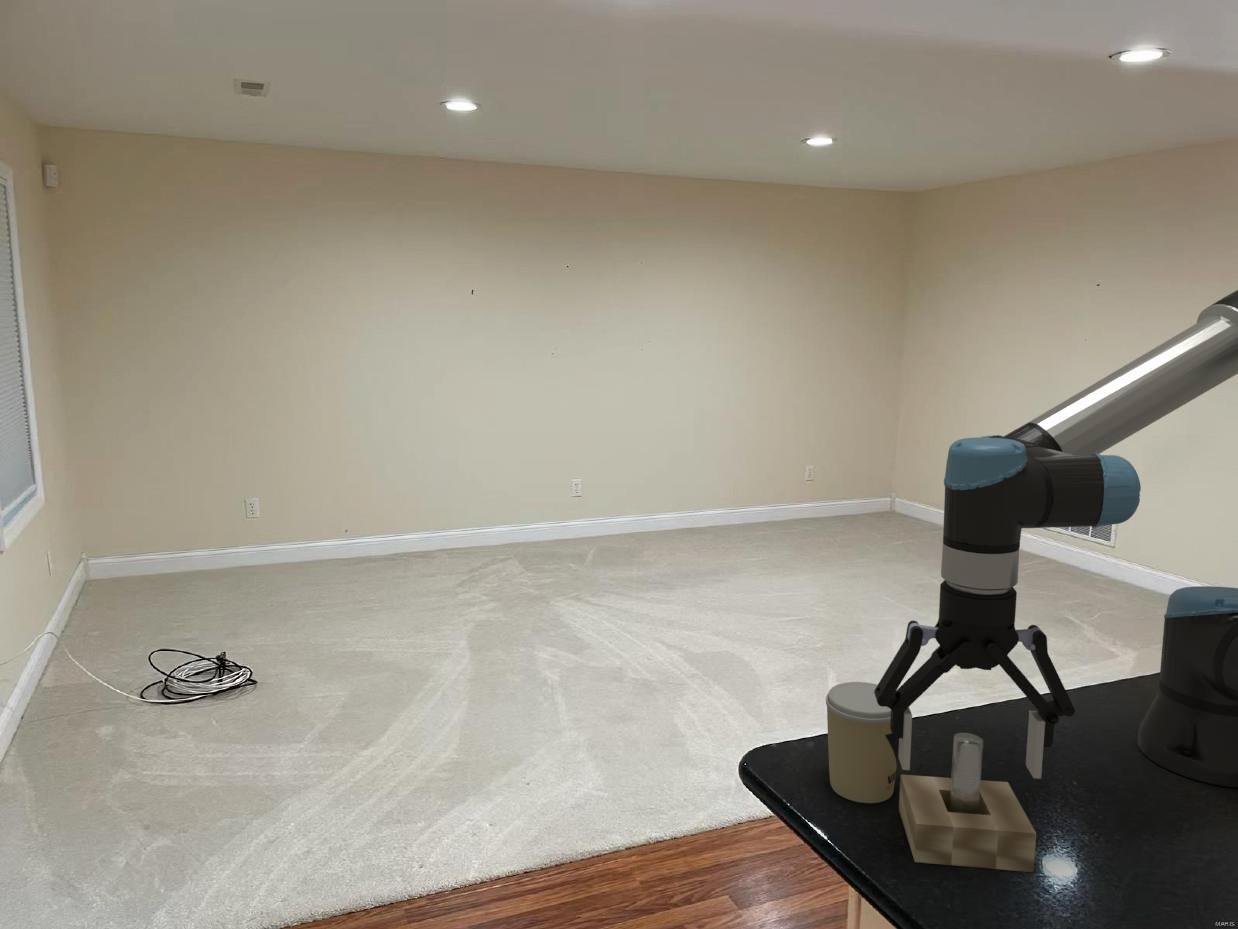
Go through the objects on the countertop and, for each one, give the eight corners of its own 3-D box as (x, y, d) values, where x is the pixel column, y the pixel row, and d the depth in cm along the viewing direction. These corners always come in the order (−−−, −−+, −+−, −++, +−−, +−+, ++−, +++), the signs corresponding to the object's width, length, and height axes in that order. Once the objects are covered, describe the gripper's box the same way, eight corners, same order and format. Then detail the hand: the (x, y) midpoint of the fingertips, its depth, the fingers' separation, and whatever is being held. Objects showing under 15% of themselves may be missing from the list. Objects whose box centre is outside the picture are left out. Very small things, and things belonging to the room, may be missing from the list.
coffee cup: (905, 811, 99) (910, 717, 97) (824, 803, 101) (827, 710, 99) (895, 770, 108) (899, 683, 106) (821, 763, 110) (824, 678, 108)
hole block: (1005, 817, 97) (1007, 782, 96) (1033, 872, 87) (1036, 833, 87) (898, 809, 99) (900, 774, 98) (914, 862, 89) (916, 823, 89)
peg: (972, 831, 95) (979, 733, 93) (979, 848, 92) (986, 747, 90) (944, 829, 95) (951, 732, 93) (950, 845, 92) (957, 745, 90)
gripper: (1090, 576, 90) (1075, 757, 94) (853, 570, 94) (848, 744, 97) (1119, 598, 83) (1103, 794, 86) (861, 590, 87) (855, 778, 90)
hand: (967, 768), depth 92 cm, fingers open, 13 cm apart
